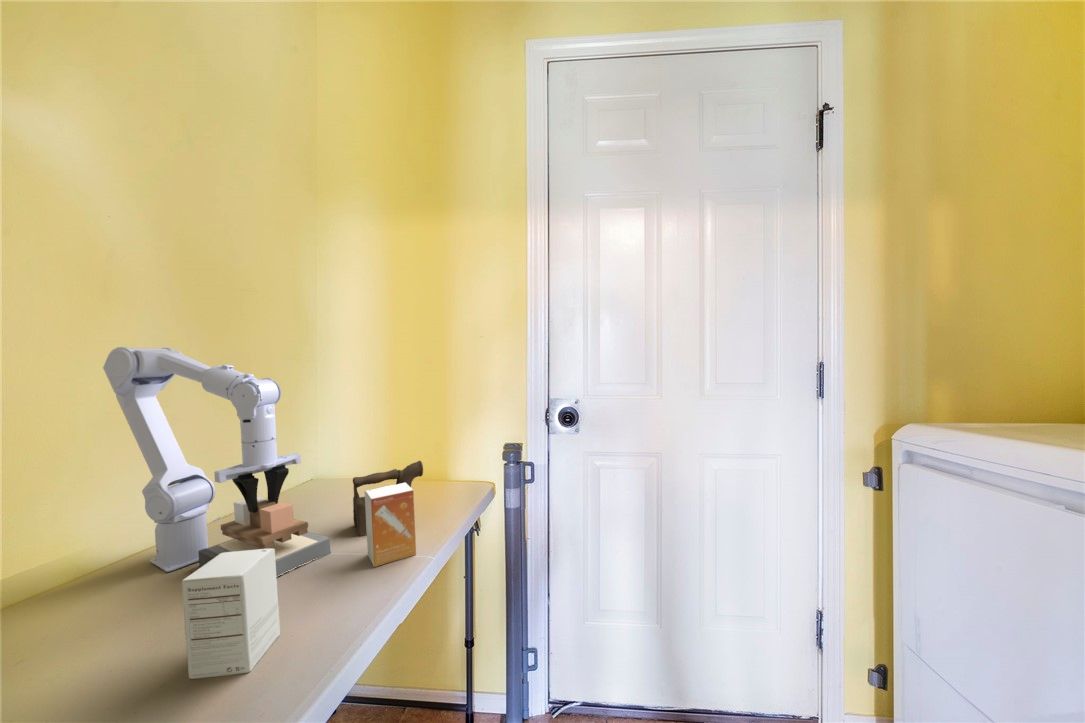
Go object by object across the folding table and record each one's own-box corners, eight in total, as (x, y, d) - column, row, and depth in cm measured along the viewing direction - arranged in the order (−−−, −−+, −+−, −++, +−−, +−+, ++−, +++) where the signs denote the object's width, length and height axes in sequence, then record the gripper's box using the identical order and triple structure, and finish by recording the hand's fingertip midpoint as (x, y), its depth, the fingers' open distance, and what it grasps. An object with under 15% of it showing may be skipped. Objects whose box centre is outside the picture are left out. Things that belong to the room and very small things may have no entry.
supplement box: (227, 639, 57) (221, 551, 57) (282, 634, 58) (277, 546, 58) (185, 681, 50) (179, 579, 50) (249, 674, 50) (243, 574, 50)
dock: (199, 566, 79) (198, 550, 79) (281, 535, 92) (280, 521, 92) (246, 591, 69) (245, 573, 69) (330, 552, 82) (329, 537, 82)
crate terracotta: (261, 530, 77) (259, 509, 77) (283, 522, 80) (281, 502, 80) (271, 533, 75) (270, 512, 75) (294, 525, 78) (292, 504, 78)
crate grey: (235, 522, 82) (233, 502, 82) (256, 514, 86) (255, 496, 86) (244, 525, 80) (243, 504, 80) (266, 517, 84) (265, 498, 84)
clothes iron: (428, 519, 97) (425, 464, 97) (355, 537, 89) (352, 477, 88) (419, 509, 104) (417, 457, 104) (351, 525, 95) (348, 469, 95)
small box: (373, 568, 75) (369, 498, 75) (367, 555, 80) (363, 490, 80) (417, 555, 79) (414, 489, 79) (408, 543, 85) (405, 481, 85)
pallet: (221, 534, 81) (219, 505, 81) (264, 519, 88) (263, 492, 88) (263, 550, 73) (261, 516, 73) (308, 532, 79) (306, 501, 79)
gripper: (225, 449, 72) (229, 525, 72) (307, 434, 84) (311, 499, 84) (207, 446, 75) (212, 519, 76) (289, 432, 88) (292, 494, 88)
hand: (263, 508), depth 80 cm, fingers closed on pallet, 3 cm apart
